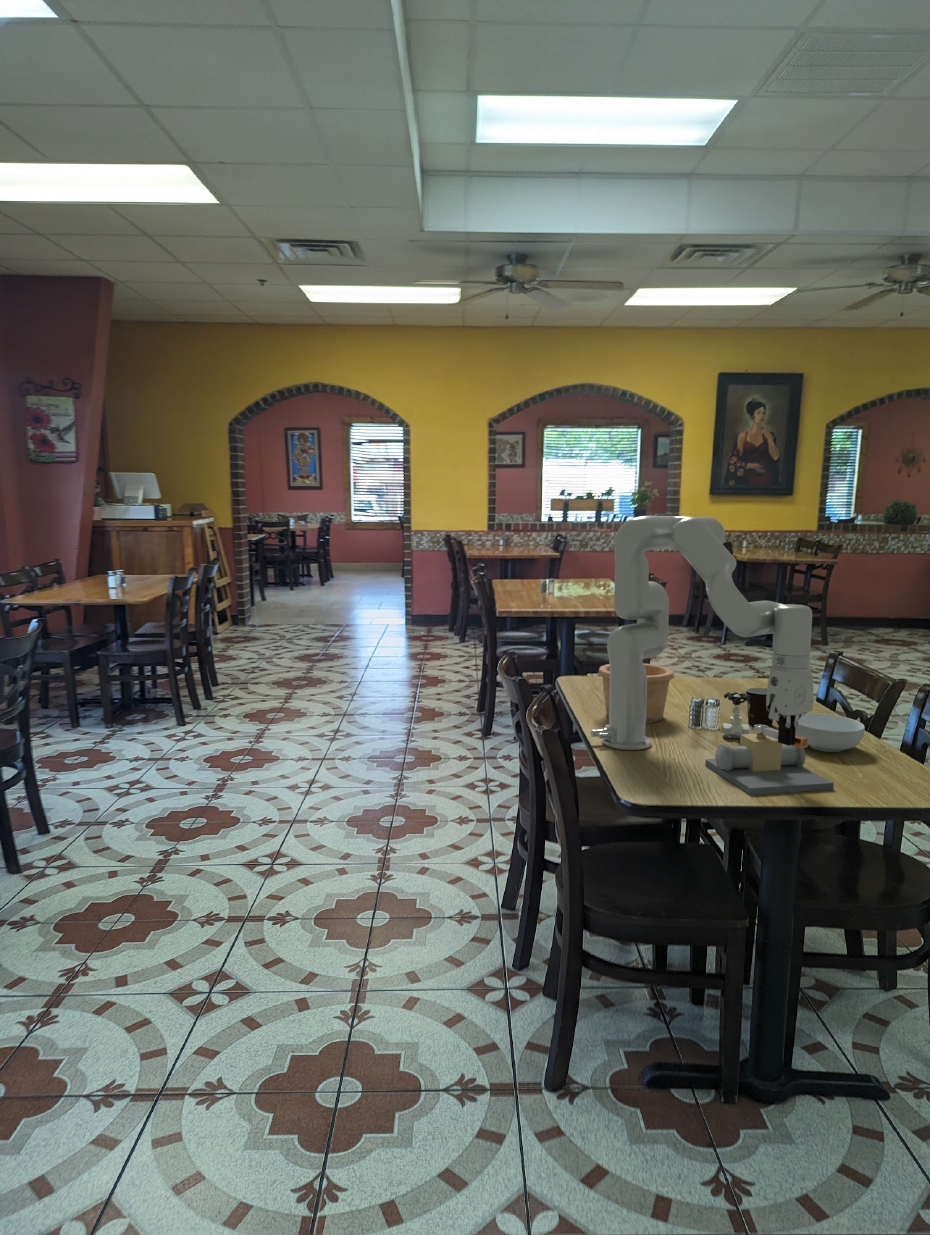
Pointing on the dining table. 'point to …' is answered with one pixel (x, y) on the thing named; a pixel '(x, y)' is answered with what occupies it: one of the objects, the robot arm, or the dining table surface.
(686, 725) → the dining table surface
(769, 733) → the valve lever
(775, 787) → the valve board
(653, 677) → the pottery
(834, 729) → the cereal bowl
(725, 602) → the robot arm
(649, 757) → the dining table surface
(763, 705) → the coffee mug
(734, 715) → the valve
